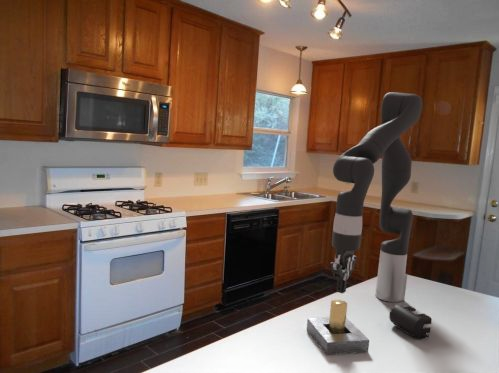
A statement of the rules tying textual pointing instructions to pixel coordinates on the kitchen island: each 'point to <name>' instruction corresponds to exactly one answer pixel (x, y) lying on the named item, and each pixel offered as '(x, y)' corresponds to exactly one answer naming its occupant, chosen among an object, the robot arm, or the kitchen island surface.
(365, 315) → the kitchen island surface
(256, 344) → the kitchen island surface
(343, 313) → the gold cylinder
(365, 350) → the jig
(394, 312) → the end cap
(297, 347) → the kitchen island surface
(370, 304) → the kitchen island surface
